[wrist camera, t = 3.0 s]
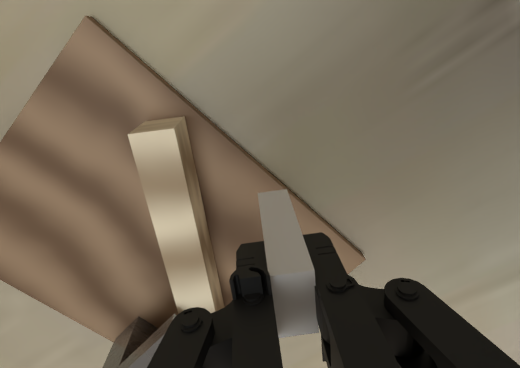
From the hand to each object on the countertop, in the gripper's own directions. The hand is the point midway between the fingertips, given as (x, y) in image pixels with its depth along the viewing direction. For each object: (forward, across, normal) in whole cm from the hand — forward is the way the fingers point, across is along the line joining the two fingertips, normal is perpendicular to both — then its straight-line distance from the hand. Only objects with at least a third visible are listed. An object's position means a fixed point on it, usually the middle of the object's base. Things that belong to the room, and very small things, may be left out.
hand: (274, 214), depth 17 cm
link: (+10, +7, +8) cm, 15 cm away
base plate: (+12, +10, +8) cm, 17 cm away
